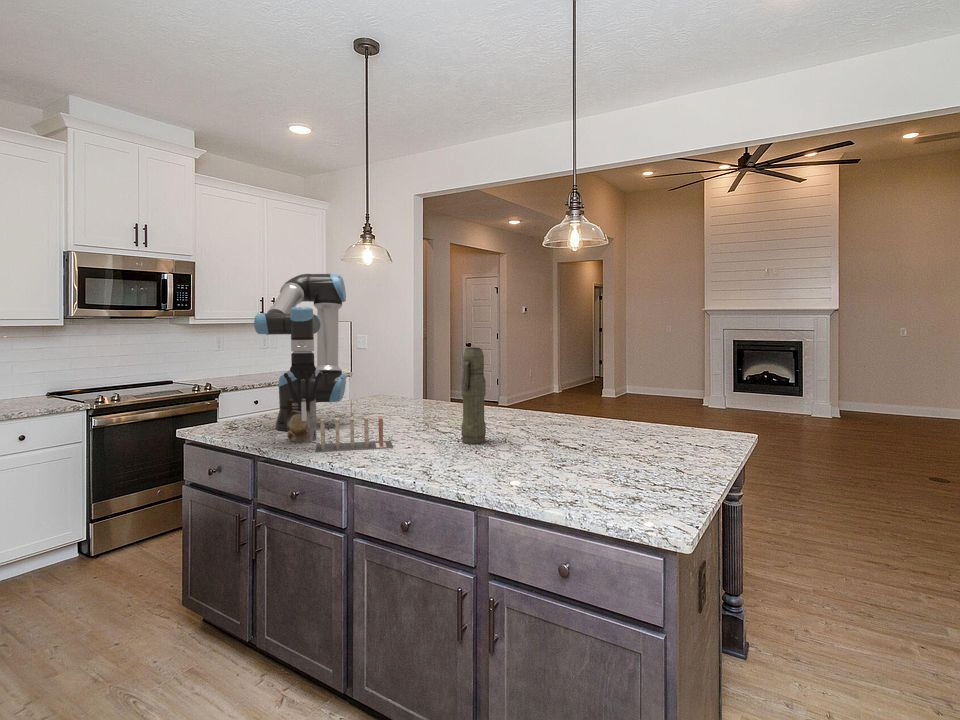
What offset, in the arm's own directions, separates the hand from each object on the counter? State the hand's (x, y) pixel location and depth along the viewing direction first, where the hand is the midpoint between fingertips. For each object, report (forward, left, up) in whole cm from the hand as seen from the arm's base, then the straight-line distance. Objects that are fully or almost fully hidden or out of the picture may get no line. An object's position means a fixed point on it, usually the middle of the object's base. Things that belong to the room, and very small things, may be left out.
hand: (304, 420), depth 191 cm
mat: (-1, +17, -11) cm, 20 cm away
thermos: (+1, +60, -11) cm, 61 cm away
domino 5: (0, +26, -10) cm, 28 cm away
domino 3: (0, +16, -10) cm, 19 cm away
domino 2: (0, +11, -10) cm, 15 cm away
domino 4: (0, +21, -10) cm, 23 cm away
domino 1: (0, +6, -10) cm, 12 cm away
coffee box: (-14, -2, -11) cm, 18 cm away
